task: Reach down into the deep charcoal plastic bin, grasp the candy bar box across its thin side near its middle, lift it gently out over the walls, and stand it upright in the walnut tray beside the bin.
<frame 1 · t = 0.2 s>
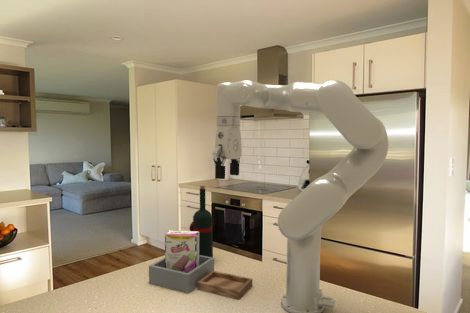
hand: (227, 176, 107), 37 cm above the countertop, tool pointing down, fingers open, 9 cm apart
walnut tray: (225, 287, 110), on the countertop
wine bottle: (200, 261, 132), on the countertop
candy bar box: (182, 279, 117), resting in deep bin
deep bin: (182, 278, 117), on the countertop
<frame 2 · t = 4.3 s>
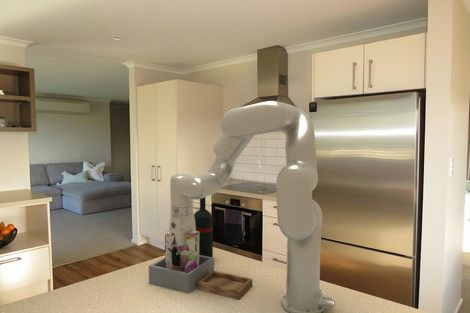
hand: (182, 261, 116), 6 cm above the countertop, tool pointing down, fingers closed on candy bar box, 6 cm apart
candy bar box: (182, 279, 117), resting in deep bin, touching gripper
everything else where it was.
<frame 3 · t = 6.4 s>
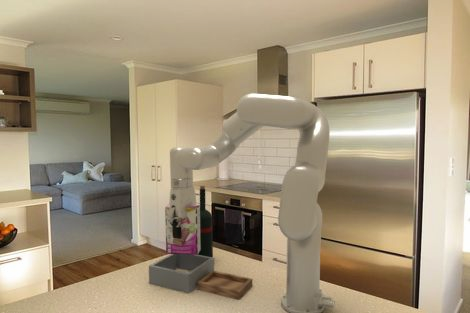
hand: (183, 234, 115), 16 cm above the countertop, tool pointing down, fingers closed on candy bar box, 6 cm apart
candy bar box: (183, 253, 116), point 9 cm above the countertop, touching gripper
everything else where it was.
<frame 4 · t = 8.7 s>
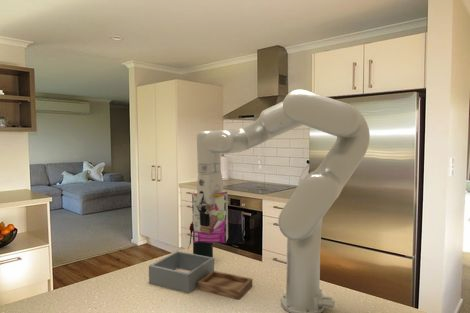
hand: (210, 222, 110), 21 cm above the countertop, tool pointing down, fingers closed on candy bar box, 6 cm apart
candy bar box: (211, 241, 111), point 15 cm above the countertop, touching gripper
everything else where it was.
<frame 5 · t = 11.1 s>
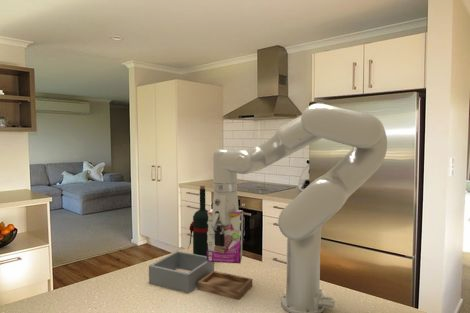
hand: (224, 242, 109), 15 cm above the countertop, tool pointing down, fingers closed on candy bar box, 6 cm apart
candy bar box: (224, 261, 109), point 9 cm above the countertop, touching gripper
everything else where it was.
when the fingers open (9 cm above the countertop, at t = 13.1 s): candy bar box stays where it is, resting on walnut tray.
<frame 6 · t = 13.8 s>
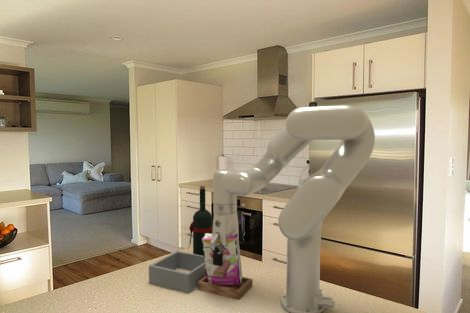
hand: (225, 260, 109), 9 cm above the countertop, tool pointing down, fingers open, 9 cm apart
candy bar box: (225, 283, 110), point 2 cm above the countertop, touching gripper, walnut tray
everything else where it was.
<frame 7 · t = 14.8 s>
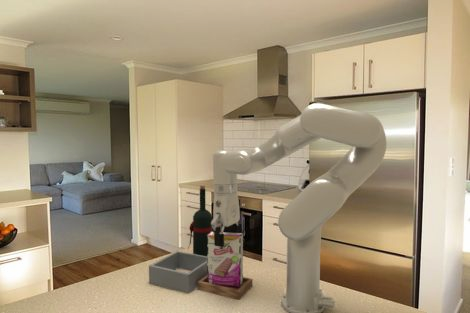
hand: (226, 241, 108), 16 cm above the countertop, tool pointing down, fingers open, 9 cm apart
candy bar box: (225, 284, 110), point 1 cm above the countertop, touching walnut tray
everything else where it was.
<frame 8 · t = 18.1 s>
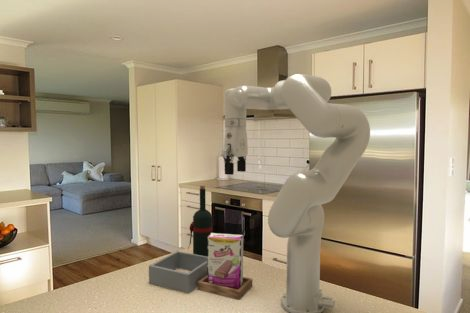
hand: (235, 172, 119), 36 cm above the countertop, tool pointing down, fingers open, 9 cm apart
at the end: candy bar box 0.1 cm off-centre on the walnut tray, point 0.8 cm above the walnut tray's base; candy bar box tilted 0°; the gripper is holding nothing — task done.
